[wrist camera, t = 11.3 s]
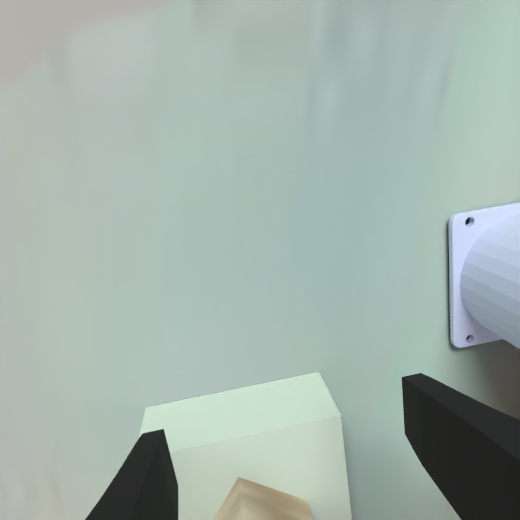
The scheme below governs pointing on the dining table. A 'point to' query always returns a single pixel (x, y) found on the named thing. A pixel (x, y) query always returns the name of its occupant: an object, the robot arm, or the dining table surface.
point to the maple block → (261, 504)
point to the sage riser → (257, 445)
